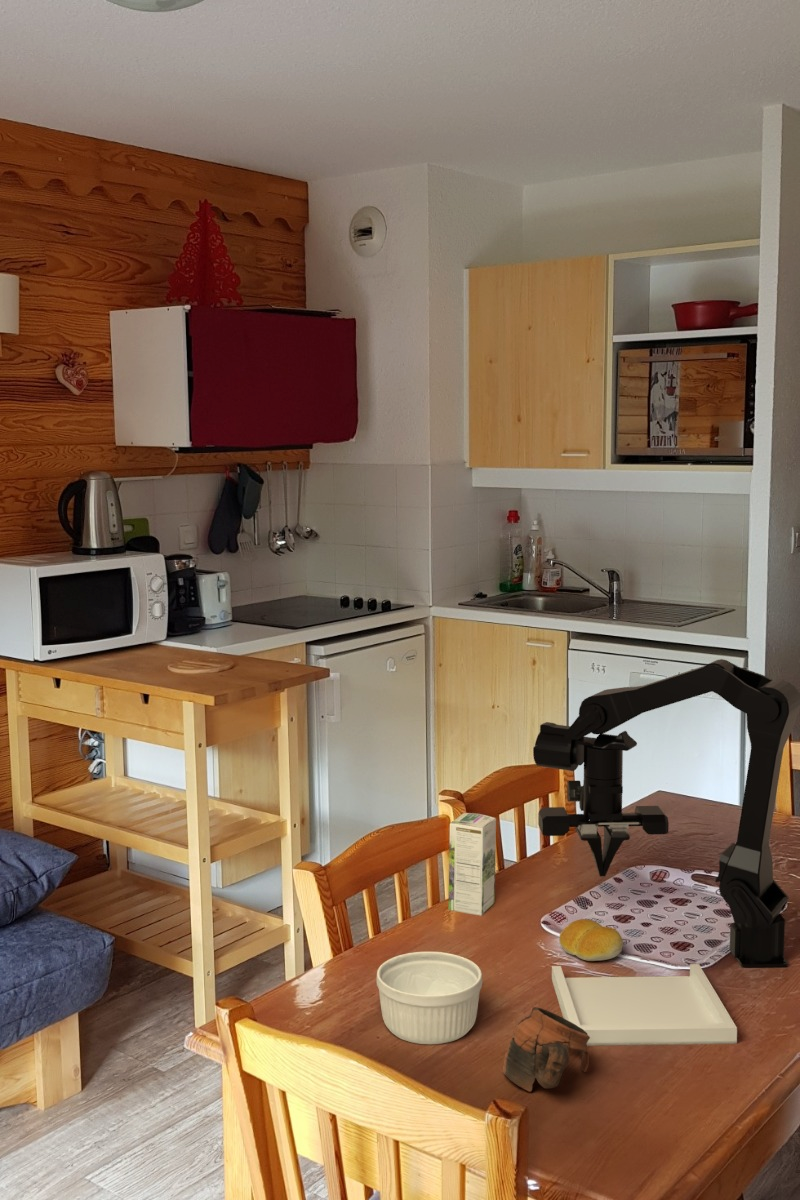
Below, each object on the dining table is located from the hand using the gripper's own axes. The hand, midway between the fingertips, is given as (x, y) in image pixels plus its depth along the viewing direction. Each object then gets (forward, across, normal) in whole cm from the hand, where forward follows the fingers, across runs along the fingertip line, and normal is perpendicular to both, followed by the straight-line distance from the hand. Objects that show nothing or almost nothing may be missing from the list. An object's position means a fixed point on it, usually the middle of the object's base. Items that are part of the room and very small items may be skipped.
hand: (602, 875), depth 181 cm
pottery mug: (+9, +16, +46) cm, 49 cm away
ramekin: (+8, +27, +31) cm, 42 cm away
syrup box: (+8, +19, -7) cm, 22 cm away
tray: (+8, 0, +28) cm, 29 cm away
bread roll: (+8, 0, +11) cm, 14 cm away
